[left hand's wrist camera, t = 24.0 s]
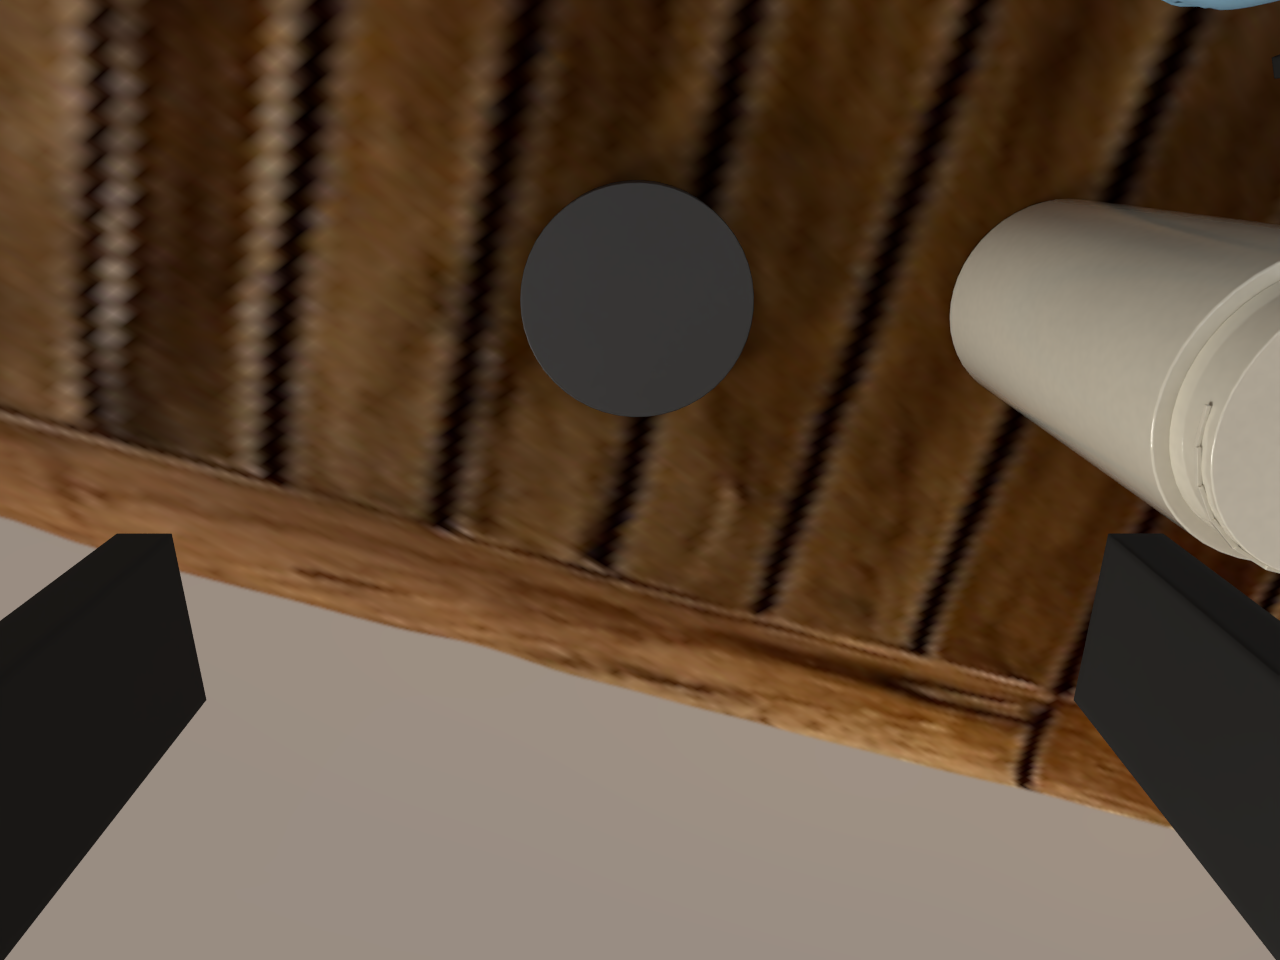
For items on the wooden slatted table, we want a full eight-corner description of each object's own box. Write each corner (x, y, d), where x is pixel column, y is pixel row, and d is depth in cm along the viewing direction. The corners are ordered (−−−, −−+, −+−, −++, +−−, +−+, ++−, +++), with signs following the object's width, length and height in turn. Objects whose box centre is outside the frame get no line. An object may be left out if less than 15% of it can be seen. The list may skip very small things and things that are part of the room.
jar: (908, 340, 41) (1117, 494, 23) (1038, 156, 38) (1392, 169, 20) (1063, 437, 43) (1370, 650, 25) (1199, 268, 40) (1656, 371, 22)
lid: (738, 407, 42) (743, 421, 40) (526, 399, 42) (521, 412, 40) (757, 185, 38) (764, 187, 36) (526, 174, 38) (519, 176, 36)
